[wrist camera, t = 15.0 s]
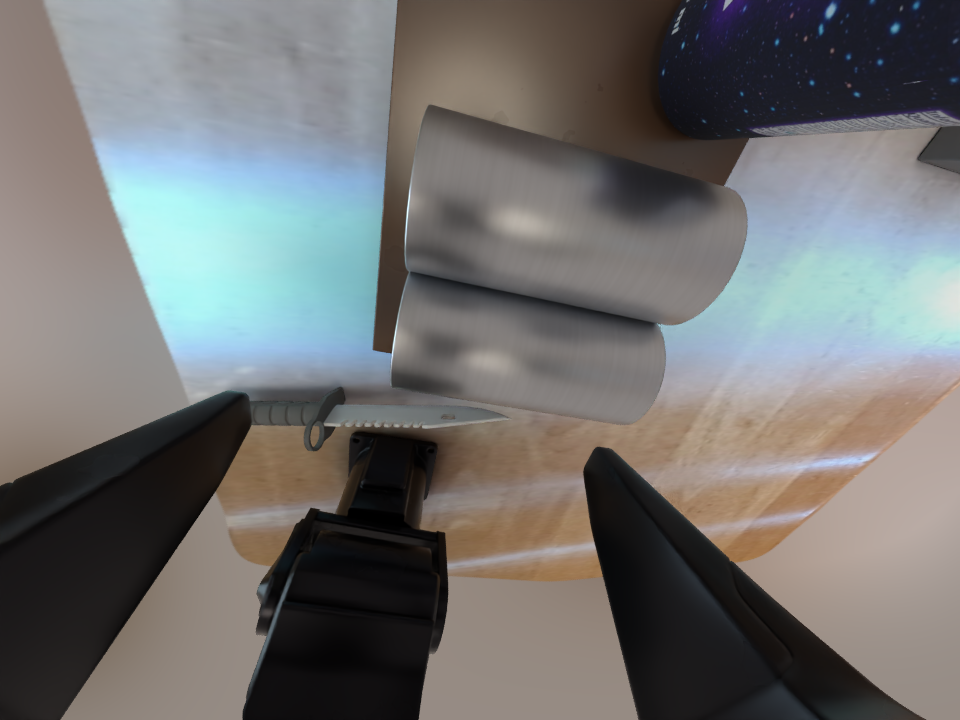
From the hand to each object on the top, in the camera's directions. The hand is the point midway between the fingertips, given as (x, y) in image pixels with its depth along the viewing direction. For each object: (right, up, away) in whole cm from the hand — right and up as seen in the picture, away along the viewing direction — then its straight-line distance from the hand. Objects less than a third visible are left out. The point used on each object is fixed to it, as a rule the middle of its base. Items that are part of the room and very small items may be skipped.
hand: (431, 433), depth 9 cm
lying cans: (+4, +7, +10) cm, 13 cm away
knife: (-6, 0, +15) cm, 16 cm away
